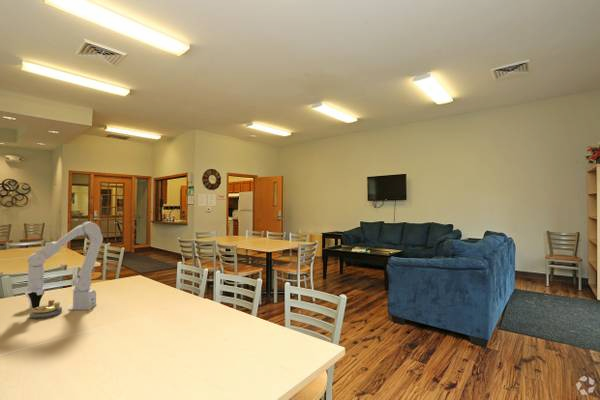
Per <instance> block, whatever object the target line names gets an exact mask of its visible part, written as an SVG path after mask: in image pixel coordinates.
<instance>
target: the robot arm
mask: <svg viewBox="0 0 600 400" xmlns="http://www.w3.org/2000/svg"><path fill="white" fill-rule="evenodd" d="M85 235H87V237H88V238H89V240H90V242H89V246H88V249H87V252H86V254H85V257H84V260H83V263H82V265H81V268H80V271H78V273H77V276H75V278H74V279H73V281H72V284H73V286H74V289H72V307H69V308H68V311H70V310H72V311H73V310H74V311H75V310H77V311H78V310H80V311H81V310H82V311H84V310H85V311H86V310H87V311H88V310H89V309H91V308H93V307H95V306H97V305H98V304H97V291H96V290H94V289H91V286H92V272H93V270H94V267H95V264H96V261H97V258H98V255H99V252H100V250H101V246H102V244H103V241H104V238H103V234H102V230H101V227H100V226H99V225H98V224H97V223H95V222H92V221H84V222H82V223H81V224H79V225H77V226H75V227H74V228H73V229H71V230H70V231H69V232H67V233H66V234H65V235H63V236H62V237H60V238H59V239H58V240H56V241H50V242H46V243H45V245H44V246H43V247H41V248H40V249H39V250H38V249H36V250H35V251H34V252H35V253H32V254H30V255H29V256H28V257H27V259H26V260H27V263H28V266H27V267H28V270H27V288H26V289H24V293H25V292H27V291H29V292H32V293H28V296H29V298H30V300H31V304H32V309H33V308H37V307H39V306H41V305H40V304H41V300H42V298H43V296H44V294H45V292H44V290H45V286H44V285H45V276H44V275H45V268H44V264H45V262H46V261H47V260H49V259H50V258H52V257H53V256H54V255H56V254H57V253H59V252H60V251H61V248H62V246H64V245H66V244H67V243H69V242H70V241H72V240H73V239H75V238H77V237H80V236H85Z"/></svg>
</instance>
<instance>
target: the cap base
mask: <svg viewBox="0 0 600 400" xmlns="http://www.w3.org/2000/svg"><path fill="white" fill-rule="evenodd" d="M62 313H63V307H62V306H60V308H59V309H58V310H56V311H53V312H48V313H42V314H35V313H33V310H31V311H30V312H29V319H31V320H42V319H43V320H44V319H48V318H53V317H56V316H60V315H61V314H62Z"/></svg>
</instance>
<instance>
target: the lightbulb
mask: <svg viewBox="0 0 600 400" xmlns="http://www.w3.org/2000/svg"><path fill="white" fill-rule="evenodd" d="M28 293H32V292H29V291H27V292H25V291H24V295H25V297H26V298H27V301H28V303H29V308H32V304H31V300H30V298H29V296H28ZM32 309H33V308H32Z"/></svg>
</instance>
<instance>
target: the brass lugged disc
mask: <svg viewBox="0 0 600 400" xmlns="http://www.w3.org/2000/svg"><path fill="white" fill-rule="evenodd" d="M60 303H61V302H60V301H57V302H55V299H49V300H48V303H47V304H44V305H43V304H42V305H39V307H37V308H32V311H33V313H35V314H42V313H48V312H53V311H56V310H58V309H59V308H60V307H61V305H60Z"/></svg>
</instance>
